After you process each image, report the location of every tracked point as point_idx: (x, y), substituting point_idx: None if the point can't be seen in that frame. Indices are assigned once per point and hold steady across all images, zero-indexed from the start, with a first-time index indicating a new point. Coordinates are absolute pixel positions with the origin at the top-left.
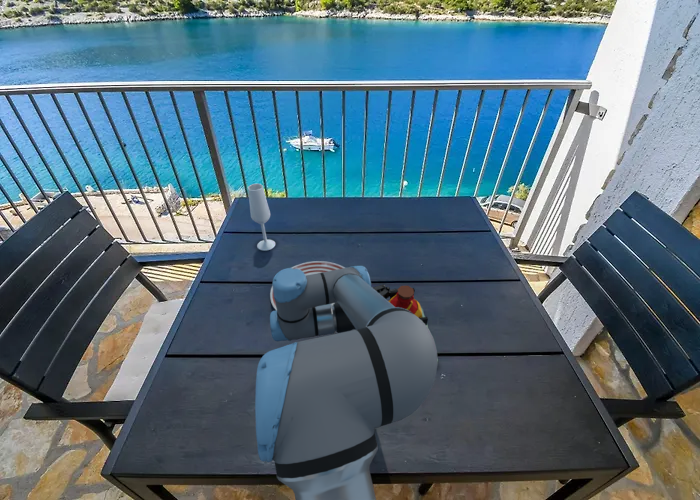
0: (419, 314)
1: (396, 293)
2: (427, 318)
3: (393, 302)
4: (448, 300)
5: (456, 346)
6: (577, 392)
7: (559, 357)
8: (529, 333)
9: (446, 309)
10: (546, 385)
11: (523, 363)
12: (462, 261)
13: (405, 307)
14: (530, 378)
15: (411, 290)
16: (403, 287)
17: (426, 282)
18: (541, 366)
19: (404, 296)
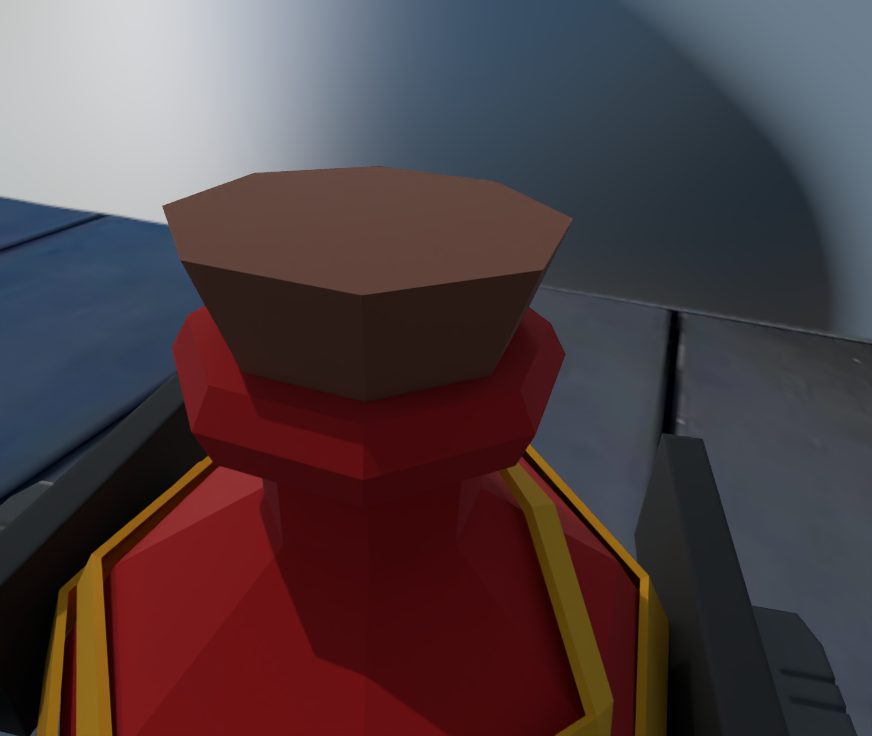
0: (565, 495)
1: (198, 428)
2: (694, 439)
3: (225, 690)
4: None
5: None
6: (838, 350)
7: (693, 322)
8: (580, 327)
9: None
10: (823, 390)
11: (720, 394)
12: (131, 305)
13: (500, 539)
14: (796, 409)
15: (407, 177)
16: (243, 202)
17: (79, 453)
18: (733, 365)
19: (526, 259)
